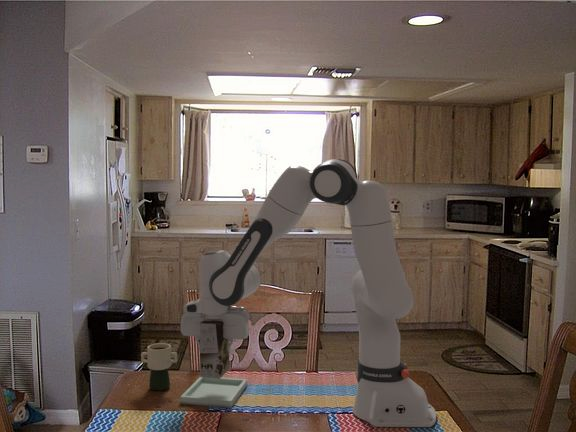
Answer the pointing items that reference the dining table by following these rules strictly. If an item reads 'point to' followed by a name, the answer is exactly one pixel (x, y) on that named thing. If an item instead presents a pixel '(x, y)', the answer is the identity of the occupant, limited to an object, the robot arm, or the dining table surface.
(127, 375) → the dining table surface
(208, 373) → the coffee box
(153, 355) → the character mug
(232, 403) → the tray
